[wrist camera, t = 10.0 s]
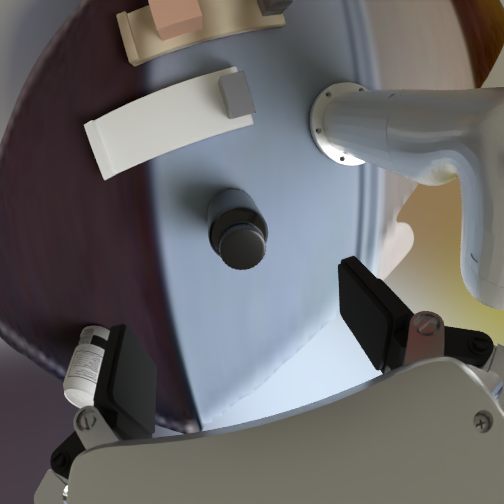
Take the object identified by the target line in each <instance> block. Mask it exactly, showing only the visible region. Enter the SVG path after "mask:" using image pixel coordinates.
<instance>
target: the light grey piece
mask: <svg viewBox="0 0 504 504" xmlns="http://www.w3.org/2000/svg"><path fill="white" fill-rule="evenodd" d="M252 113H256V111H255V108H254V104H253V101H252V98H251V94H250V91H249V88H248V85H247V81H246V78H245V75H244V72H243V71H239V72H238V71H237V67H236V66H235V67H231V68H227V69H224V70H220V71H216V72H213V73H209V74H206V75H202V76H199V77H196V78H193V79H190V80H187V81H184V82H181V83H178V84H175V85H172V86H170V87H167V88H164V89H162V90H159V91H157V92H154V93H152V94H149V95H147V96H144V97H142V98H140V99H137V100H135V101H133V102H131V103H129V104H126V105H124V106H122V107H120V108H118V109H116V110H114V111H112V112H110V113H108V114H106V115H104V116H102V117H100V118H98V119H96V120H91V121H90V122H88V123H86V124H84V127H85V130H86V133H87V136H88V139H89V142H90V145H91V147H92V150H93V153H94V155H95V158H96V161H97V163H98V166H99V168H100V171H101V174H102V176H103V178H104V180H106V179H108V178H110V177H112V176H114V175H115V174H117V173H120V172H122V171H124V170H126V169H128V168H131V167H133V166H135V165H137V164H140V163H142V162H144V161H147V160H149V159H152V158H154V157H157V156H159V155H162V154H164V153H167V152H169V151H172V150H175V149H177V148H180V147H183V146H185V145H188V144H191V143H194V142H197V141H200V140H203V139H205V138H209V137H212V136H215V135H218V134H221V133H224V132H227V131H231V130H234V129H238V128H241V127H245V126H248V125H252V124H254V123H253V120H252V117H251V114H252Z"/></svg>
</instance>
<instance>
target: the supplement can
mask: <svg viewBox="0 0 504 504" xmlns="http://www.w3.org/2000/svg"><path fill="white" fill-rule="evenodd" d="M109 333H110V331H109V330H108V329H106V328H104V327H101V326H96V325H92V326H87V327H85V328H84V329H83V330H82V333H81V335H80V338H79V340H78V343H77V345H76V348H75V351H74V354H73V356H72V359H71V362H70V365H69V368H68V371H67V374H66V377H65V380H64V383H63V387H64V391H65V392H64V394H65V397H66V398H67V399H68V401H70V402H71V403H72V404H74V405H75V406H77V407H79V408H82V407H84V406H93V405H94V401H93V398H94V393H95V388H96V384H97V379H98V375H99V371H100V367H101V362H102V359H103V355H104V351H105V347H106V343H107V340H108V336H109Z"/></svg>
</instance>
